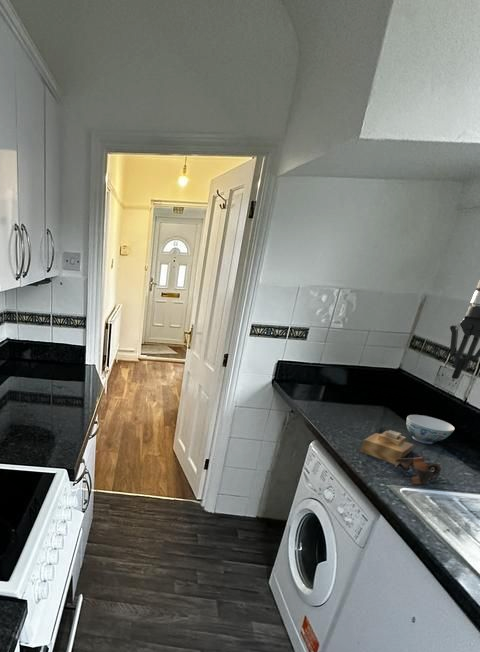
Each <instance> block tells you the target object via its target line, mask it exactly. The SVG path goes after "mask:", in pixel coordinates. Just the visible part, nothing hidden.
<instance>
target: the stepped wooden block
mask: <svg viewBox="0 0 480 652" xmlns="http://www.w3.org/2000/svg"><path fill="white" fill-rule="evenodd" d="M386 432H388V430H386V431H383V432H382V433H378V432H375V433H373V434H372V435H369V436H368V437H366V438H365V439H363V443H362V445H361V449H360V451H359V452H361V453H364V454H366V455H369V456H372V457H374V458H376V459H379V460H382V461H385V462H387V463H390V464H393V465H394V464H395V463H396V460H395V459H399V458H406V456H407V455H409V454H410V453H411V452H412V450H413V447H414V444H413V443H410V442H407V441H406V439H407V437H406V436H403V435H401V436H400V438H399V439H394V438H391V437H387V436H385V435H386Z"/></svg>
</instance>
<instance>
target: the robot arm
mask: <svg viewBox="0 0 480 652" xmlns="http://www.w3.org/2000/svg"><path fill="white" fill-rule="evenodd" d="M470 304H471V305H469V306H468V308H467V310H466V312H465V315H464V318H463V319H462V320H461V321H460V322H459V323H457V324H453V325H450V327H449V330H450V332H451V336H450V337H451V338H450V346H449V347H450V348H449V355H450V356H452V357H454V360H453V363H452V365H451V366H452V367H451V368H453V369H454V370H453V373H452V375H451V379H455V380H457V379H460V376H461V373H462V372H463V370H467V369H468V367H469V365H470V363H471V361H473V360H478V359H479V358H480V348H478V350H477V352H475V351H476V349H477V347H478V345H479V342H480V279H479V280H478V283H477V285H476V288H475V290H474V293H473V294H472V297H471V300H470ZM461 330H462V332H463V337H462V340H461V342H460V345H459V347H458V338H459V331H461ZM471 336H473V338H472V340H471V344H470V346H469V347H468V351H467V353H466V355H465V358H462V357H463V355H464V352H465V351H466V348H467V345H468V343H469V342H470V341H469V340H470V339H471ZM457 349H458V350H457Z"/></svg>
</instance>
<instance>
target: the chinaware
mask: <svg viewBox="0 0 480 652" xmlns="http://www.w3.org/2000/svg"><path fill="white" fill-rule="evenodd" d="M406 428H407V431H408V433H409V434H410V435H411V437H412V439H413V440H415V441H417V442H420V443H422V444H427V445H432V444H434V443H436V442H441V441H443V440H445V439H447V438H448V437H449V436H450V435H452V433H454V431H455V426H453V425H452V424H451V423H449V422H447V421H445V420H442V419H439V418H436V417H432V416H428V415H423V414H422V415H420V414H409V415H407V417H406Z"/></svg>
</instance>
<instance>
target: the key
mask: <svg viewBox="0 0 480 652" xmlns="http://www.w3.org/2000/svg"><path fill="white" fill-rule="evenodd" d="M385 436H387V437H391V438H394V439H399V438H400V436H402V433H401V432H398V431H395V430H391V429H389V430H387V432H386V435H385Z"/></svg>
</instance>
